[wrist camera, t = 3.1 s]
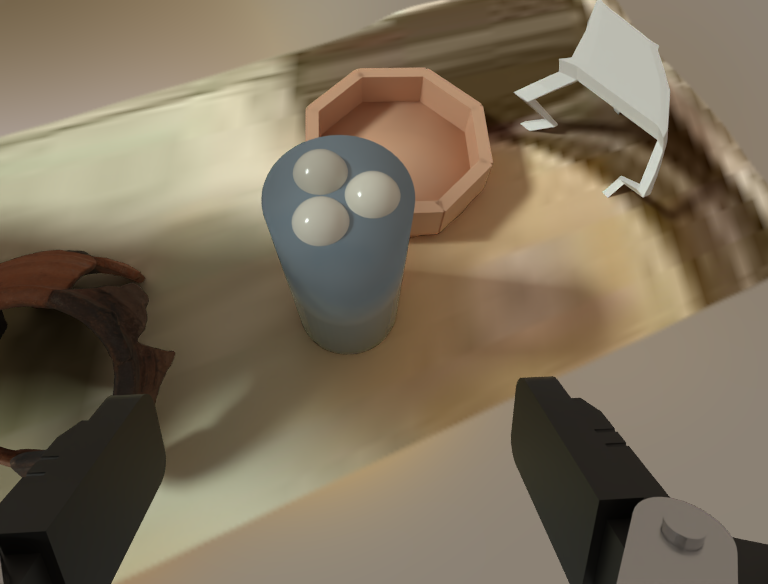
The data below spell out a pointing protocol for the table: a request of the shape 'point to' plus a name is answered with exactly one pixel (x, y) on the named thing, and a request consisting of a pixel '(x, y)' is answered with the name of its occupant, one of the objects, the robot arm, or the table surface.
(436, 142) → the terracotta bowl
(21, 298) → the pottery mug
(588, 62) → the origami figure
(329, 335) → the pebble cup
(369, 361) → the table surface
